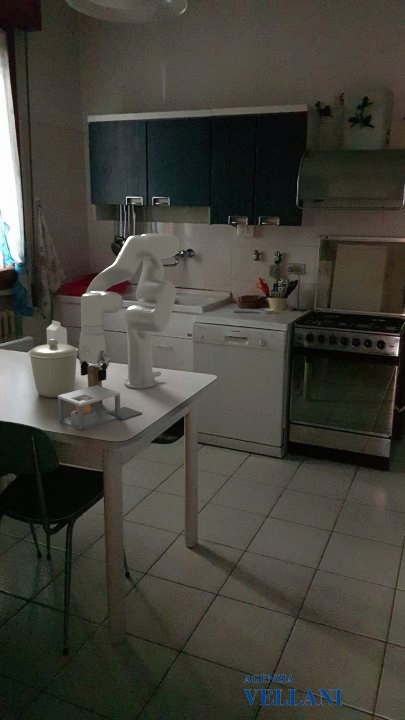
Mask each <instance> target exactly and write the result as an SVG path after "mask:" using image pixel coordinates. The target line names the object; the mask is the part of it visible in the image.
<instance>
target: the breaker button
mask: <svg viewBox="0 0 405 720" xmlns="http://www.w3.org/2000/svg"><path fill="white" fill-rule="evenodd" d="M78 401H79V402H83V401H87V400H85V399H82V400H78ZM83 406H84V415H85V414H89V413H91V412H90V410H91V405H90V404H87V405H83ZM75 411H76V413H77V414H78V405H75Z"/></svg>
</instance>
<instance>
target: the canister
mask: <svg viewBox="0 0 405 720" xmlns="http://www.w3.org/2000/svg"><path fill="white" fill-rule="evenodd" d="M77 350H79V348H77V347H74V346H73V345H70V344H68V343H67V344H58V341H57V340H56V339H50V340H49V341H48V344H47V343H46V344H42V345H37V346H35V347H33V348H31V349H30V350H29V351H28V352H27V355H28V356H29V357H30V358H29V359H30V362H31V363H30V364H31V368H32V369H31V370H32V374H33V379H34V385H35V389H36V391H37V393H38V395H40V396H41V397H45V398H50V399H52V398H57V399H58V395H62V394H65V393H69V392H73V391H74V389H75V384H76V372H77V359H78V355H77Z"/></svg>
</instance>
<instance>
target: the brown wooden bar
mask: <svg viewBox="0 0 405 720" xmlns="http://www.w3.org/2000/svg"><path fill="white" fill-rule="evenodd" d="M87 368H88V375H87V385H88V386H87V388H88V387H92V386H95V385H98V386H101V387H103V381H98V370H99V367H98V365H97V364H91V365H89V366H87ZM88 400H90V398H88ZM101 405H103V400H101V401H100V406H101ZM90 406H93V407H95V402H94V403H90Z"/></svg>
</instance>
